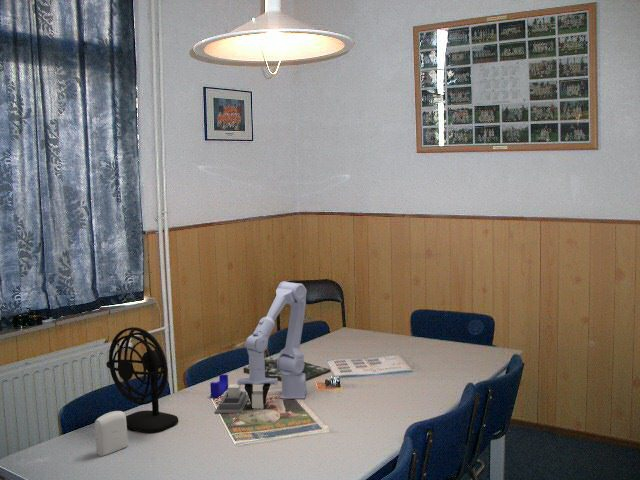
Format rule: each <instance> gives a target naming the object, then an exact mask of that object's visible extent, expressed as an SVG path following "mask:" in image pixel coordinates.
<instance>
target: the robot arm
mask: <svg viewBox="0 0 640 480" xmlns="http://www.w3.org/2000/svg"><path fill="white" fill-rule="evenodd" d="M307 292H308V290H307V288H306V287H305V285H304V284H303V283H301V282H300V283H299V282H298V283H297V282H291V281H290V282H289V281H285V280H283V281H281V282H280V283H279V285H278V286H277V288H276V290H275V295H276V296H275V298H274V299H273V302H272V303H271V305H270V308H269V310H268V312H267V314H266V316H263V317H261V319H259V322H258V324H257V325H256V326H255V329H254V331H253V333H252V334H250V335H249V336H248V337H247V338H246V340H245V343H244V348H245V349H246V350H247V355H248V366H249V374H248V375H249V377H245V378H238V379H237V384H238V385H240V386H241V385H242V386H243V385H244V387H243V388H244V390H245V392H246V394H248V396H249V402H250V405H252V393H253V391H254V385H257V386H258V385H260V386H261V385H263V386H262V391H263V404H265V405H266V403H267V396H268V392H269V389H270V387H271V385H274V386H277V385H278V381H277V378H266V377H265V359H266V358H265V351H266V350H267V348H268V344H269V343H268V342H269V337H270V336H271V334H272V332H273V330H274V328H275V327H276V323H275V320H277V318H278V316H279V315H280V313H281V312H282V310H283V308H284V307H285V306H286V305H289V306H290V313H289V314H290V315H289V319H288V326H287V327H288V328H287V333H286V340H285V346H284V348H283V349H281V350H280V351H279V357H278V358H277V359H278V360H277V367H278V369H279V370H280V373H281V374H282V381H281V394H280V397H279V399H280V398H282V399H281V400H283V399H285V400H286V399H289V400H290V399H294V400H296V399H298V400H299V399H301V400H302V399H306V396H307V381H306V374H305V373H301V372H302V371H303V369H304V362H305V360H304V359H305V354H304V353H303V352H302V351H301V349H300V348H301V341H302V333H303V327H304V320H305V313H306V306H307V301H306V300H307V299H306V298H307Z"/></svg>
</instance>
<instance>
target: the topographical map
mask: <svg viewBox="0 0 640 480" xmlns="http://www.w3.org/2000/svg"><path fill="white" fill-rule="evenodd" d="M264 359H265V377H266V378H277V382H282V374H281V373H280V370H279V369H278V367H277V360H278V358H273V357H270V358H264ZM331 372H332V370H331V368H326V367H323V366H319V365H315V364H313V363H312V364H311V363H309V362H305V361H304V369H303V371H302V372H301V373H305V374H306V382H307V381H310V380H313V379H316V378H318V377H320V376H323V375H326V374H328V373H331ZM243 373H244V374H247V375H249V365H248V366H246V367H243Z"/></svg>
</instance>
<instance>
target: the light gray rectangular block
mask: <svg viewBox="0 0 640 480" xmlns="http://www.w3.org/2000/svg"><path fill="white" fill-rule="evenodd" d="M264 405H266V404H263V390H253V393H252V404H251V407H252V408H257V409H256V410H259V409H258V408H262V409H261V410H264V408H265V406H264Z"/></svg>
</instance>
